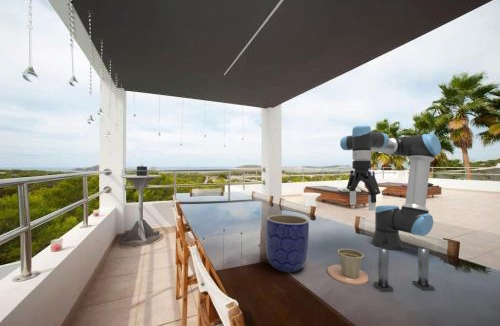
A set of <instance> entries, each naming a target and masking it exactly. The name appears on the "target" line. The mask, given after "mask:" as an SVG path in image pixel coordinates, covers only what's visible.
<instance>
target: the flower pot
mask: <svg viewBox="0 0 500 326" xmlns="http://www.w3.org/2000/svg"><path fill="white" fill-rule="evenodd" d="M337 253H338V256H339V262H340V265H341V270H342V274H343V275H345V276H346V277H349V278H356V277H359V272H360V270H361V265H362V261H363V258H364V254H363V253H362V252H361V251H358V250H356V249H351V248H340V249H338V250H337Z"/></svg>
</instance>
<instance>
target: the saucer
mask: <svg viewBox="0 0 500 326" xmlns="http://www.w3.org/2000/svg"><path fill="white" fill-rule="evenodd" d="M327 275H328V276H329V277H330V278H332V279H333V280H335V281H337V282H339V283H343V284H346V285H351V286H364V285H365V284H367V283H369V275H368V274H367V273H366V272H365V271H363V270H361V269H360V272H359V277H356V278H349V277H346V276H345V275H343V274H342V270H341V264H332V265H330V266H328V268H327Z"/></svg>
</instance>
